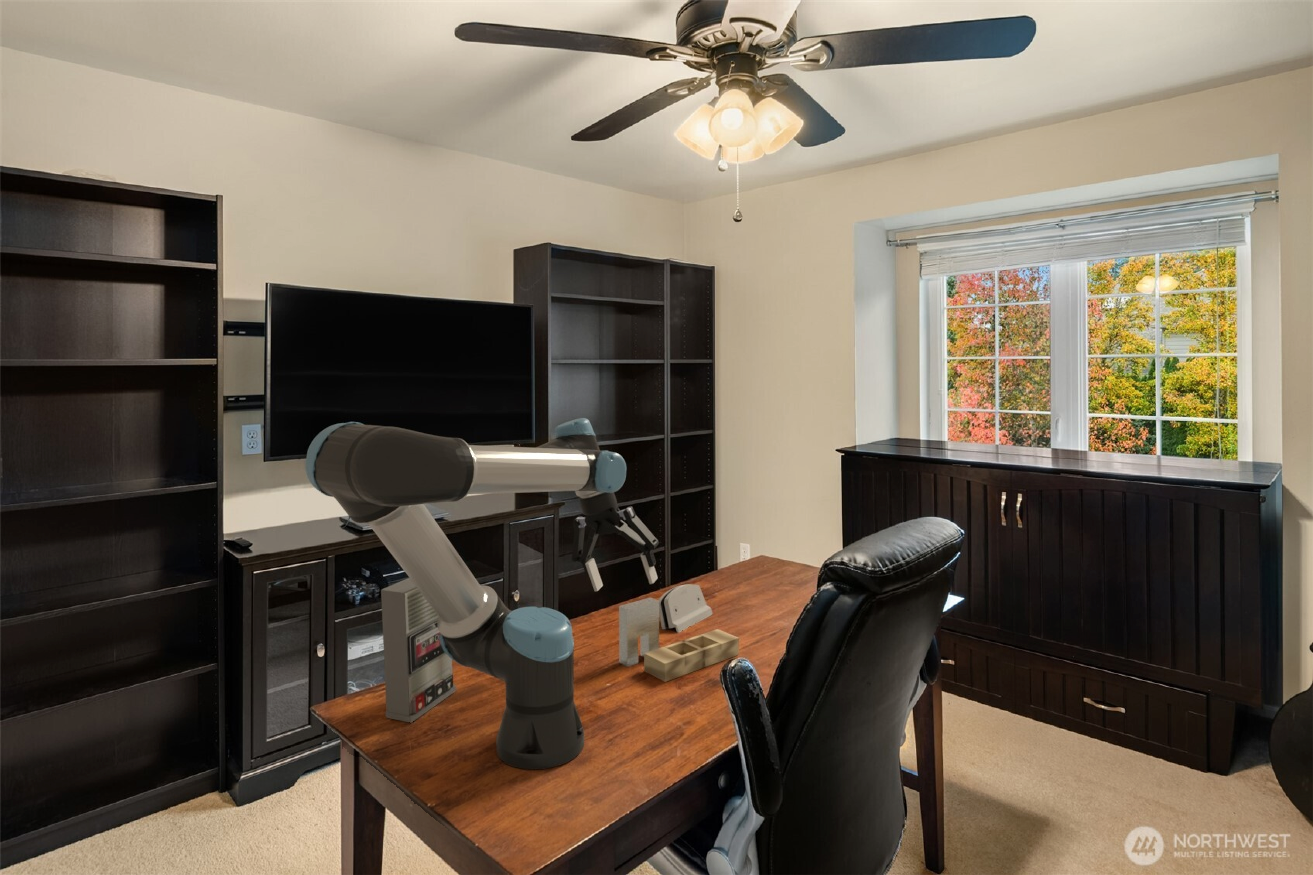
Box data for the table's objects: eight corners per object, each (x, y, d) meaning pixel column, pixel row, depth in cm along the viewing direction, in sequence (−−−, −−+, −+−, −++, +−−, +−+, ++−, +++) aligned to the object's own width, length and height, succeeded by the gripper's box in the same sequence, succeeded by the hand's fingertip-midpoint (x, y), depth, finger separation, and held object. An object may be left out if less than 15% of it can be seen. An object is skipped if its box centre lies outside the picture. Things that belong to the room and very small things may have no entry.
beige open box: (665, 681, 152) (665, 663, 152) (644, 670, 158) (644, 653, 157) (738, 654, 166) (738, 637, 166) (717, 645, 172) (717, 628, 171)
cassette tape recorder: (412, 724, 135) (407, 593, 132) (385, 718, 137) (379, 590, 134) (457, 692, 148) (453, 572, 145) (432, 687, 150) (427, 569, 147)
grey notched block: (627, 666, 160) (627, 609, 159) (619, 662, 162) (618, 605, 161) (659, 656, 166) (659, 600, 164) (650, 652, 168) (650, 597, 166)
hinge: (678, 633, 179) (666, 593, 180) (663, 635, 182) (652, 596, 183) (713, 613, 193) (702, 577, 194) (699, 616, 196) (688, 580, 196)
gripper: (653, 475, 149) (684, 569, 152) (554, 495, 160) (585, 583, 163) (639, 487, 142) (671, 585, 146) (536, 507, 153) (568, 599, 157)
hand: (625, 585), depth 155 cm, fingers open, 13 cm apart
